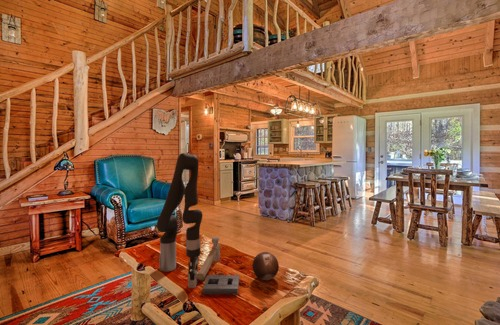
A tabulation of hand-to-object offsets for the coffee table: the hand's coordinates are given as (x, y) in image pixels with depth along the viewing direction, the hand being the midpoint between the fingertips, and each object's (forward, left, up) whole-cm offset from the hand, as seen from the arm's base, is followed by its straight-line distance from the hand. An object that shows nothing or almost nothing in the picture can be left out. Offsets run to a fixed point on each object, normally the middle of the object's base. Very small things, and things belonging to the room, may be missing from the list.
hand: (194, 276), depth 137 cm
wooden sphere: (+39, +8, -6) cm, 40 cm away
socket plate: (+15, -1, -5) cm, 16 cm away
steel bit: (-1, 0, -5) cm, 5 cm away
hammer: (+5, +19, -6) cm, 21 cm away
